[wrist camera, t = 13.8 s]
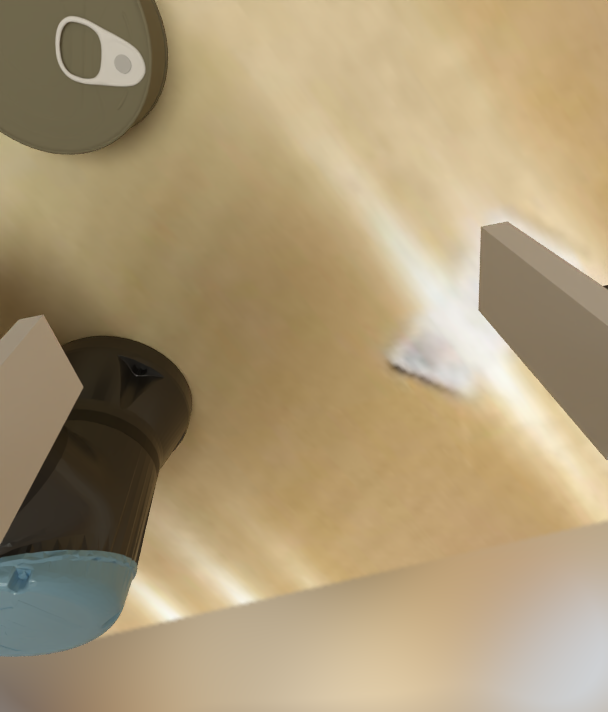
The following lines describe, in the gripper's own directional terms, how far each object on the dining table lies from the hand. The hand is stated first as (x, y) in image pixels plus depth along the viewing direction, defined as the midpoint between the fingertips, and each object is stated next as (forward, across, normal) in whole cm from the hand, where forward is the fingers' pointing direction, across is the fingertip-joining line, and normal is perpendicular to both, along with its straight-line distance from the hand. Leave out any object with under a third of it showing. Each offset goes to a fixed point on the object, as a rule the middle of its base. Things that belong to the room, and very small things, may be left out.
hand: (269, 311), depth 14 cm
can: (+27, -11, +9) cm, 30 cm away
